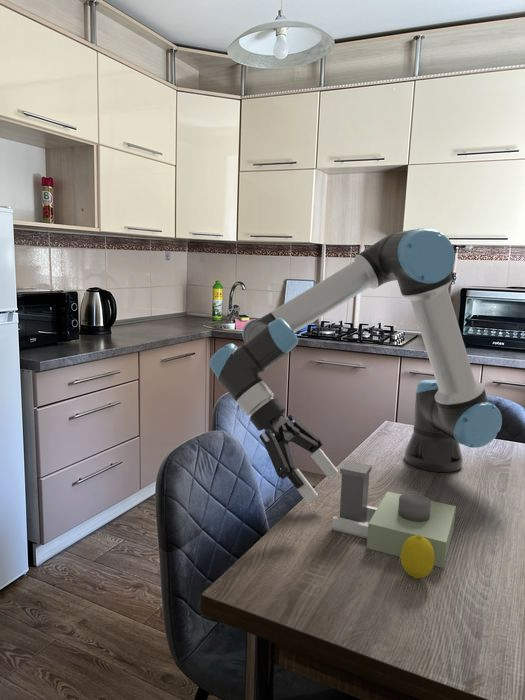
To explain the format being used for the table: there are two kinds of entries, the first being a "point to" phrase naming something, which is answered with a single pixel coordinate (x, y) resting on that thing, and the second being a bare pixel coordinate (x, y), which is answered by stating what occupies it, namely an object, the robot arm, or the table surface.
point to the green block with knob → (404, 524)
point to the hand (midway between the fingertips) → (324, 486)
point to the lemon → (417, 556)
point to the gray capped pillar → (354, 491)
